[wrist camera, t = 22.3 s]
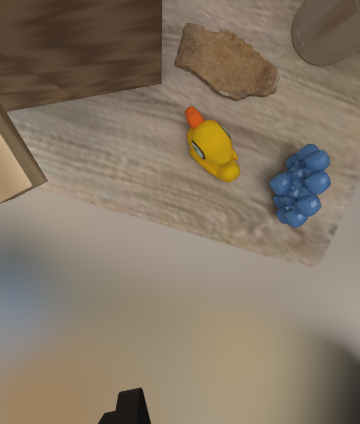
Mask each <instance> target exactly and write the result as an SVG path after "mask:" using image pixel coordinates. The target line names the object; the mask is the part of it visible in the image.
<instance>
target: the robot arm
mask: <svg viewBox="0 0 360 424" xmlns="http://www.w3.org/2000/svg"><path fill="white" fill-rule="evenodd" d="M292 39H293V44H294V46H295V49H296V51H297V52H298V54H299V55H300V56H301V57H302V58H303V59H304V60H305V61H307V62H309V63H310V64H314V65H322V66H323V65H329V64H331V63H334V62H336V61H338V60H340V59H342V58H344V57H346V56H349V55H351V54H353V53H355V52H357V51H359V50H360V0H307V1H306V2H305V3H304V4H303V5H302V6H301V7H300V9H299V11H298V12H297V14H296V16H295V19H294V21H293V26H292ZM98 424H151V422H150V418H149V413H148V410H147V405H146V402H145V397H144V393H143V390H142V388H136V389H131V390H127V391H121V392H119V394H118V400H117V405H116V411H112V412H108V413H104V415H103V416H102V418H101V420H100V421H99V423H98Z"/></svg>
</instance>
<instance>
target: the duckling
mask: <svg viewBox="0 0 360 424" xmlns="http://www.w3.org/2000/svg"><path fill="white" fill-rule="evenodd" d="M186 119H187V122H188V124H189V125H190V129H189V131H188V133H187V140H188V144H189V146H190V148H191V149H190V154H191V156H192V157H193V158H194V159H195V160H196V161H197V162H198V163H199V164H200V165H201V166H202V167H203V168H204V169H205V170H207V171H208V172H209V173H211V174H212V175H214V176H215V177H217V178H218V179H220V180H222V181H225V182H232V181H234V180H235V179H236V178H237V177H238V176H239V175H240V168H239V166H238V164H237V163H236V161H235V160H238V156H237V154H236V152H235V151H234V149H233V148H232V142H231V138H230V135H229V133H228V132H227V130H226V129H225V128H224V127H223V126H222V125H221V124H220V123H218V122H216V121H213V120H206V121H204V119H203V117H202V115H201V114H200V113H199V112H198V111H197V110H196V109H195V108H194V107H192V106H191V107H189V108H187V109H186Z"/></svg>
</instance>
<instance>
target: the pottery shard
mask: <svg viewBox="0 0 360 424" xmlns="http://www.w3.org/2000/svg"><path fill="white" fill-rule="evenodd" d="M175 65H176V66H178V67H179V68H181V69H183V70H185V71H191V72H192V73H194V74H195V75H196V76H198V77H199V78H200V79H201V80H202V81H203V82H204V83H206V84H207V85H208V86H209V87H210V88H211V89H212V90H213V91H215V92H216V93H220V94H221V95H223V96H225V97H228V98H232V99H235V100H240V99H243V98H245V97H247V96H268V95H269V94H271V93H275V91H276V86H277V81H278V80H279V76H278V71H277V68H276V67H274V66H272V65H271V64H270V63H269V62H268V61H266V60H264V59H263V58H262V56H261V55H260V54H259V53H258V52H256V51H255V50H254V49H253V48H252V46H251V45H249V44H247V43H246V42H245V41H244V39H242V38H239V37H238V36H237V35H235V34H234V33H231V32H229V31H227V30H222V31H220V32H219V33H214V32H210V31H207V30H206V29H205V28H204V27H203V26H200V25H196V24H192V23H186V25H185V28H184V30H183V35H182V39H181V44H180V47H179V50H178V55H177V58H176V60H175Z"/></svg>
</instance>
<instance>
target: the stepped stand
mask: <svg viewBox="0 0 360 424" xmlns="http://www.w3.org/2000/svg"><path fill="white" fill-rule="evenodd" d="M161 55H162V0H0V103H1V105H2V106H3V108H4V110H5V111H6V112H7V111H13V110H18V109H24V108H29V107H35V106H40V105H46V104H51V103H57V102H62V101H68V100H73V99H79V98H84V97H90V96H95V95H101V94H106V93H112V92H117V91H123V90H128V89H134V88H139V87H145V86H150V85H156V84H161Z"/></svg>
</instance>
